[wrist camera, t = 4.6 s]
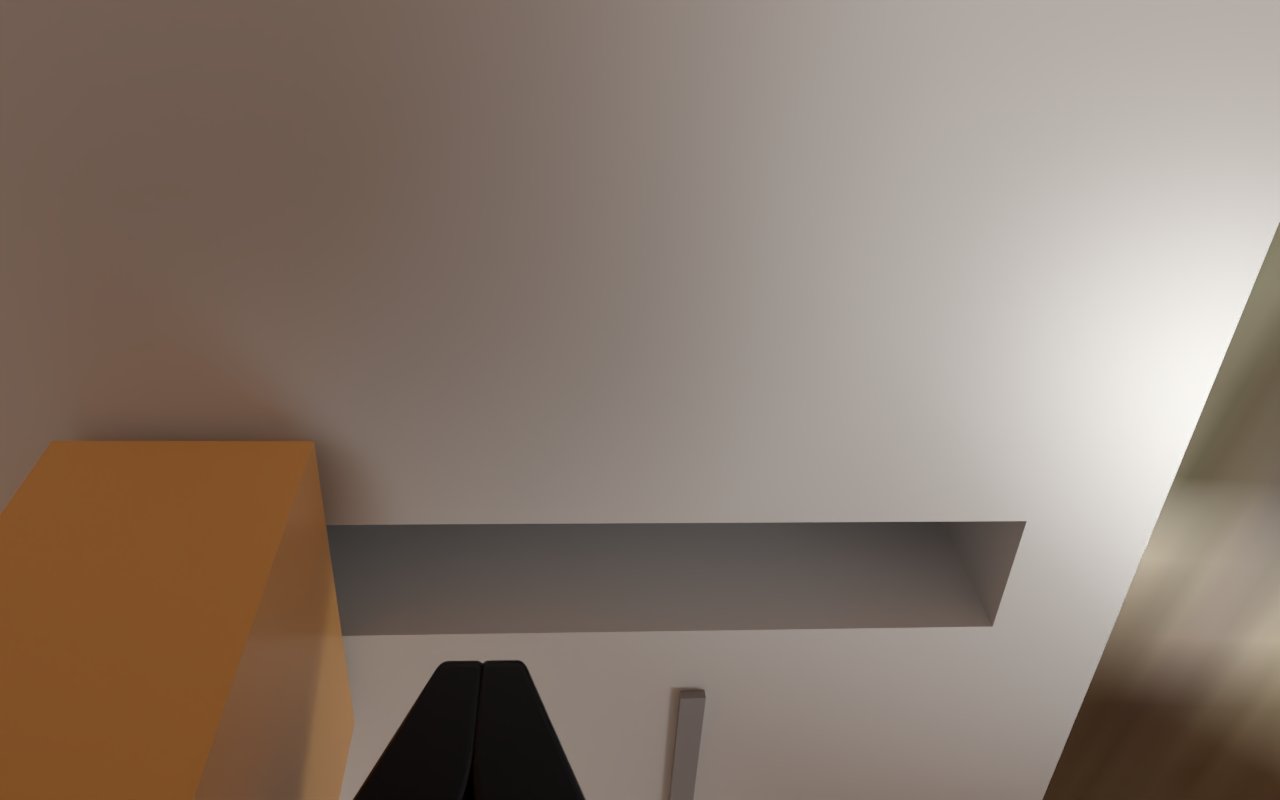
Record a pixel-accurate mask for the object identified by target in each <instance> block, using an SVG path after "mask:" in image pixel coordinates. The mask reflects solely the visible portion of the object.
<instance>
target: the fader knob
mask: <svg viewBox="0 0 1280 800" xmlns="http://www.w3.org/2000/svg"><path fill="white" fill-rule="evenodd" d="M354 723H355V722H354V715H353V708H352V701H351V694H350V687H349V680H348V673H347V666H346V660H345V653H344V646H343V639H342V632H341V625H340V618H339V611H338V604H337V597H336V590H335V583H334V576H333V570H332V563H331V556H330V549H329V542H328V535H327V528H326V521H325V514H324V507H323V500H322V493H321V486H320V480H319V473H318V466H317V459H316V452H315V445H314V441H52V442H51V443H50V444H49V446H48V447H47V449H46V450H45V452H44V453H43V454H42V456H41V457H40V459H39V460H38V461H37V463H36V464H35V466H34V467H33V469H32V470H31V471H30V473H29V474H28V476H27V477H26V478H25V480H24V481H23V483H22V484H21V486H20V487H19V488H18V490H17V491H16V493H15V494H14V496H13V497H12V498H11V500H10V501H9V503H8V504H7V505H6V507H5V508H4V510H3V511H2V513H1V514H0V800H339V798H340V793H341V788H342V783H343V778H344V773H345V768H346V763H347V758H348V753H349V748H350V743H351V738H352V733H353V728H354Z"/></svg>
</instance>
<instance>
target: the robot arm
mask: <svg viewBox="0 0 1280 800" xmlns="http://www.w3.org/2000/svg"><path fill="white" fill-rule="evenodd" d="M353 800H586V799H585V797H584V794H583V792H582V790H581V788H580V785H579V783H578V781H577V779H576V776H575V774H574V772H573V770H572V767H571V765H570V763H569V761H568V758H567V756H566V754H565V752H564V749H563V747H562V745H561V742H560V740H559V738H558V736H557V733H556V731H555V729H554V727H553V724H552V722H551V720H550V718H549V715H548V713H547V711H546V709H545V706H544V704H543V702H542V700H541V697H540V695H539V693H538V691H537V688H536V686H535V684H534V682H533V679H532V677H531V675H530V673H529V670H528V668H527V666H526V665H525V664H524V663H523V662H522V661H520V660H488V661H485V662H484V663H481V662H480V661H445V662H443V663H441V664H440V665H439V666H438V667H437V668H436V670H435V671H434V673H433V674H432V676H431V678H430V679H429V681H428V682H427V684H426V685H425V687H424V689H423V690H422V692H421V693H420V695H419V696H418V698H417V700H416V701H415V703H414V704H413V706H412V707H411V709H410V710H409V712H408V714H407V715H406V717H405V718H404V720H403V721H402V723H401V725H400V726H399V728H398V729H397V731H396V732H395V734H394V736H393V737H392V739H391V740H390V742H389V743H388V745H387V747H386V748H385V750H384V751H383V753H382V754H381V756H380V758H379V759H378V761H377V762H376V764H375V765H374V767H373V769H372V770H371V772H370V773H369V775H368V776H367V778H366V780H365V781H364V783H363V784H362V786H361V787H360V789H359V791H358V792H357V794H356V795H355V797H354V798H353Z"/></svg>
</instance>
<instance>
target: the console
mask: <svg viewBox="0 0 1280 800" xmlns="http://www.w3.org/2000/svg"><path fill="white" fill-rule="evenodd" d="M1279 222H1280V0H0V514H1V513H2V511H3V510H4V508H5V507H6V505H7V504H8V503H9V501H10V500H11V498H12V497H13V496H14V494H15V493H16V491H17V490H18V488H19V487H20V486H21V484H22V483H23V481H24V480H25V478H26V477H27V476H28V474H29V473H30V471H31V470H32V469H33V467H34V466H35V464H36V463H37V461H38V460H39V459H40V457H41V456H42V454H43V453H44V452H45V450H46V449H47V447H48V446H49V444H50V443H51V442H52V441H314V445H315V452H316V459H317V466H318V473H319V480H320V486H321V493H322V500H323V507H324V514H325V521H326V528H327V535H328V542H329V549H330V556H331V563H332V570H333V576H334V583H335V590H336V597H337V604H338V611H339V618H340V625H341V632H342V639H343V646H344V653H345V660H346V666H347V673H348V680H349V687H350V694H351V701H352V708H353V715H354V722H355V723H354V728H353V733H352V738H351V743H350V748H349V753H348V758H347V763H346V768H345V773H344V778H343V783H342V788H341V793H340V798H339V800H353V798H354V797H355V795H356V794H357V792H358V791H359V789H360V787H361V786H362V784H363V783H364V781H365V780H366V778H367V776H368V775H369V773H370V772H371V770H372V769H373V767H374V765H375V764H376V762H377V761H378V759H379V758H380V756H381V754H382V753H383V751H384V750H385V748H386V747H387V745H388V743H389V742H390V740H391V739H392V737H393V736H394V734H395V732H396V731H397V729H398V728H399V726H400V725H401V723H402V721H403V720H404V718H405V717H406V715H407V714H408V712H409V710H410V709H411V707H412V706H413V704H414V703H415V701H416V700H417V698H418V696H419V695H420V693H421V692H422V690H423V689H424V687H425V685H426V684H427V682H428V681H429V679H430V678H431V676H432V674H433V673H434V671H435V670H436V668H437V667H438V666H439V665H440V664H441V663H443V662H445V661H480V662H481V663H484V662H485V661H488V660H520V661H522V662H523V663H524V664H525V665H526V666H527V668H528V670H529V673H530V675H531V677H532V679H533V682H534V684H535V686H536V688H537V691H538V693H539V695H540V697H541V700H542V702H543V704H544V706H545V709H546V711H547V713H548V715H549V718H550V720H551V722H552V724H553V727H554V729H555V731H556V733H557V736H558V738H559V740H560V742H561V745H562V747H563V749H564V752H565V754H566V756H567V758H568V761H569V763H570V765H571V767H572V770H573V772H574V774H575V776H576V779H577V781H578V783H579V785H580V788H581V790H582V792H583V794H584V797H585V799H586V800H1043V797H1044V795H1045V792H1046V790H1047V787H1048V785H1049V782H1050V780H1051V778H1052V775H1053V773H1054V770H1055V768H1056V765H1057V763H1058V761H1059V758H1060V756H1061V753H1062V751H1063V748H1064V746H1065V743H1066V741H1067V739H1068V736H1069V734H1070V731H1071V729H1072V726H1073V724H1074V722H1075V719H1076V717H1077V714H1078V712H1079V709H1080V707H1081V704H1082V702H1083V700H1084V697H1085V695H1086V692H1087V690H1088V687H1089V685H1090V682H1091V680H1092V678H1093V675H1094V673H1095V670H1096V668H1097V665H1098V663H1099V661H1100V658H1101V656H1102V653H1103V651H1104V648H1105V646H1106V643H1107V641H1108V639H1109V636H1110V634H1111V631H1112V629H1113V626H1114V624H1115V622H1116V619H1117V617H1118V614H1119V612H1120V609H1121V607H1122V604H1123V602H1124V600H1125V597H1126V595H1127V592H1128V590H1129V587H1130V585H1131V583H1132V580H1133V578H1134V575H1135V573H1136V570H1137V568H1138V565H1139V563H1140V561H1141V558H1142V556H1143V553H1144V551H1145V548H1146V546H1147V544H1148V541H1149V539H1150V536H1151V534H1152V531H1153V529H1154V526H1155V524H1156V522H1157V519H1158V517H1159V514H1160V512H1161V509H1162V507H1163V505H1164V502H1165V500H1166V497H1167V495H1168V492H1169V490H1170V487H1171V485H1172V483H1173V480H1174V478H1175V475H1176V473H1177V470H1178V468H1179V466H1180V463H1181V461H1182V458H1183V456H1184V453H1185V451H1186V448H1187V446H1188V444H1189V441H1190V439H1191V436H1192V434H1193V431H1194V429H1195V426H1196V424H1197V422H1198V419H1199V417H1200V414H1201V412H1202V409H1203V407H1204V405H1205V402H1206V400H1207V397H1208V395H1209V392H1210V390H1211V387H1212V385H1213V383H1214V380H1215V378H1216V375H1217V373H1218V370H1219V368H1220V366H1221V363H1222V361H1223V358H1224V356H1225V353H1226V351H1227V348H1228V346H1229V344H1230V341H1231V339H1232V336H1233V334H1234V331H1235V329H1236V327H1237V324H1238V322H1239V319H1240V317H1241V314H1242V312H1243V309H1244V307H1245V305H1246V302H1247V300H1248V297H1249V295H1250V292H1251V290H1252V288H1253V285H1254V283H1255V280H1256V278H1257V275H1258V273H1259V270H1260V268H1261V266H1262V263H1263V261H1264V258H1265V256H1266V253H1267V251H1268V249H1269V246H1270V244H1271V241H1272V239H1273V236H1274V234H1275V231H1276V229H1277V227H1278V224H1279Z"/></svg>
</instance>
